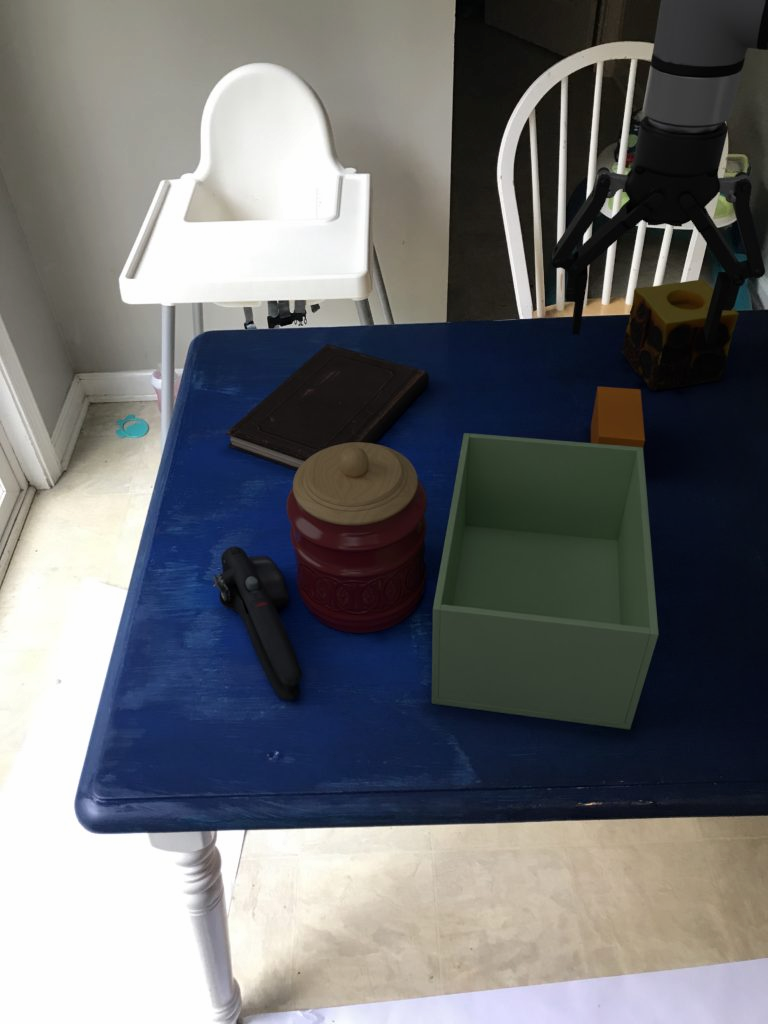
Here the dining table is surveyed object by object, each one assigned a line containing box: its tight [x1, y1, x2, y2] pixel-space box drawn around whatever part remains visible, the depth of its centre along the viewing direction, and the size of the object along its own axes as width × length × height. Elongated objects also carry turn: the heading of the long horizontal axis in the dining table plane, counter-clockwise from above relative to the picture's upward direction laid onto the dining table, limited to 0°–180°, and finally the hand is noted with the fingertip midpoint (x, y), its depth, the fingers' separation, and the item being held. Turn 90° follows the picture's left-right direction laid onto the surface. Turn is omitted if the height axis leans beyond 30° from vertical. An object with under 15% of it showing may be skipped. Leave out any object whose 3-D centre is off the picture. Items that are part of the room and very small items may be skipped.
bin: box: [431, 432, 660, 730], centre depth 77 cm, size 17×23×13 cm
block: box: [590, 386, 646, 449], centre depth 97 cm, size 5×10×6 cm, turn 170°
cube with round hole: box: [621, 279, 740, 392], centre depth 109 cm, size 10×10×10 cm
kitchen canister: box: [285, 442, 428, 634], centre depth 79 cm, size 13×13×18 cm
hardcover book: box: [225, 343, 430, 471], centre depth 106 cm, size 16×23×2 cm
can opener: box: [212, 546, 303, 702], centre depth 78 cm, size 18×7×6 cm, turn 22°
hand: (641, 332), depth 87 cm, fingers open, 13 cm apart
